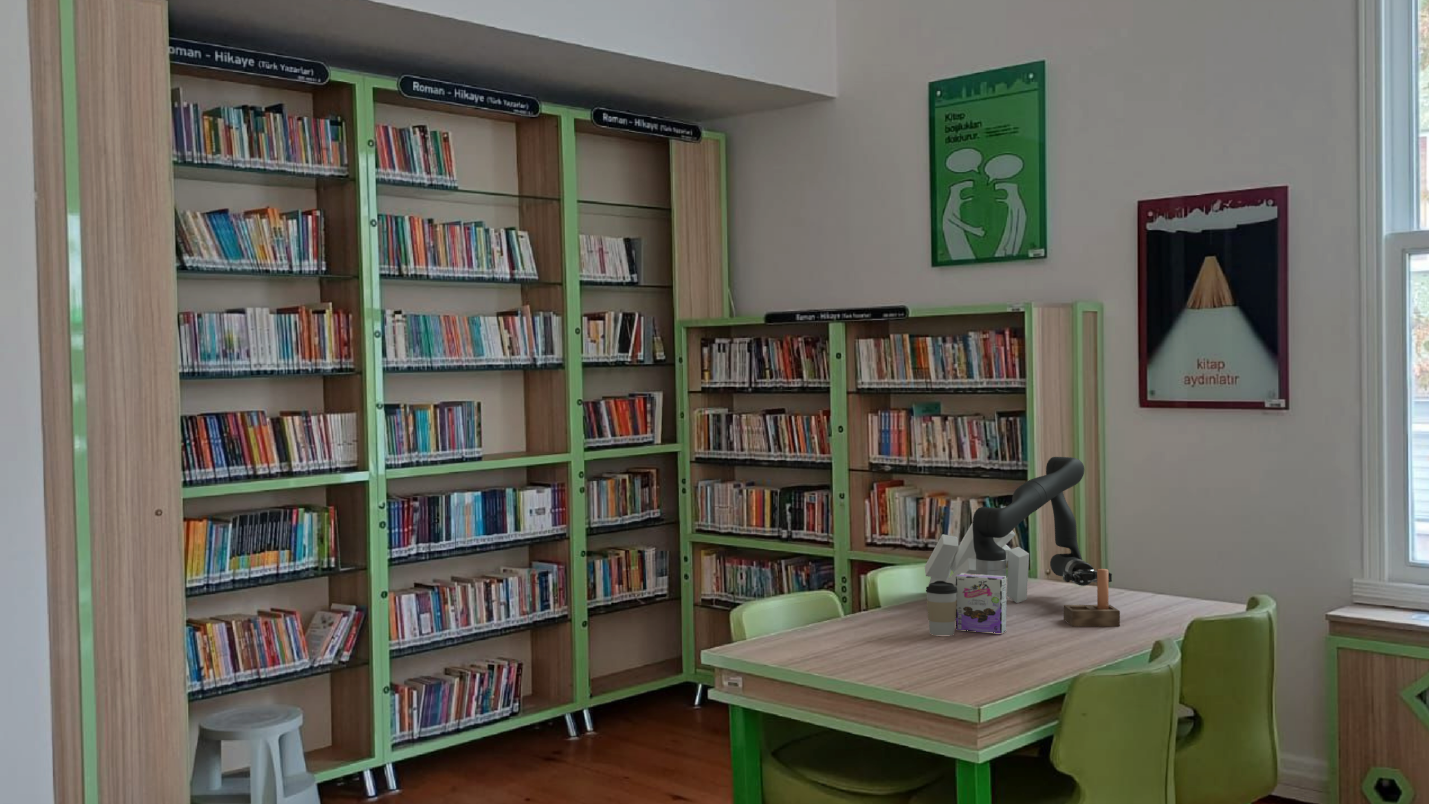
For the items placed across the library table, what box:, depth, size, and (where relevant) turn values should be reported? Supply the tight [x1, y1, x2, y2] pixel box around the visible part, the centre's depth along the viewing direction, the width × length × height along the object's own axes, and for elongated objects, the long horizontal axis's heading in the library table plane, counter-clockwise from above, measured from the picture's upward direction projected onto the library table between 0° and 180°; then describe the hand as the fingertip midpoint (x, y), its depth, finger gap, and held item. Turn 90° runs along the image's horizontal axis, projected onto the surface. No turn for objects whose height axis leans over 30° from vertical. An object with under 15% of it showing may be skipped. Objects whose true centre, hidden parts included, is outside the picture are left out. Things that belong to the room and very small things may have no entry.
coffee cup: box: [925, 581, 958, 636], centre depth 363 cm, size 9×9×15 cm
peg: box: [1096, 568, 1110, 609], centre depth 376 cm, size 3×3×16 cm
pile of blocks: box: [924, 522, 1030, 604], centre depth 412 cm, size 35×30×35 cm
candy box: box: [955, 573, 1007, 634], centre depth 366 cm, size 14×6×16 cm, turn 62°
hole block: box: [1063, 604, 1121, 627], centre depth 376 cm, size 14×10×4 cm
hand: (1093, 580), depth 387 cm, fingers open, 8 cm apart
